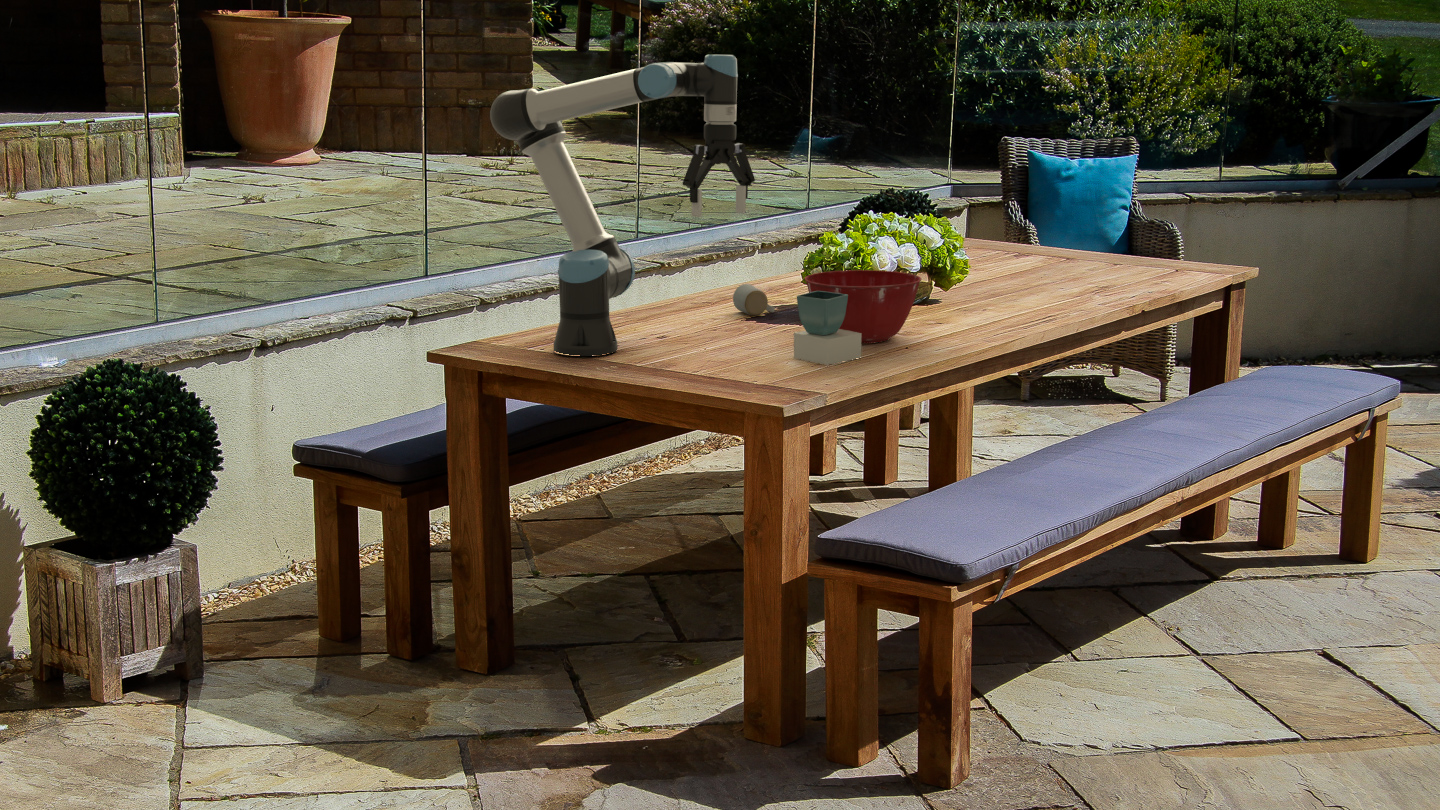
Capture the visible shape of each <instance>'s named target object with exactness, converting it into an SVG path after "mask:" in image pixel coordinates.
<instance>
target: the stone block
mask: <svg viewBox="0 0 1440 810" xmlns="http://www.w3.org/2000/svg"><path fill="white" fill-rule="evenodd" d="M861 334H862V333H858V332H853V331H848V330H842V329H838V331H837V332H835V333H831V334H828V335H825V336H823V335H818V334H810V333H807V331H806V330H801V331H796V332H793V359H796V358H797V359H796V360H800V359H801V360H802V361H805V362H809V361H810V363H814V362H815V364H818V363H820V364H819V365H823V364H825V365H824V366H830V365H829V364H832V365H835V364H834V363H837V364H839V363H838V362H842V361H847V360H852V359H856V358H860V357H861V358H862V344H861ZM852 361H853V360H852ZM847 362H848V361H847ZM842 363H843V362H842Z"/></svg>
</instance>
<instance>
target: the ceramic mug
mask: <svg viewBox="0 0 1440 810" xmlns="http://www.w3.org/2000/svg"><path fill="white" fill-rule="evenodd" d="M732 302H733V305H734V307H735V309H737V311H740V312H742V313H744V314H747V315H749V316H759V315H761V314H763V313H764V312H765V311H768V312H770V313H774V312H775V310H776V307H775V306H772V305H770V304H769V300H768V296H767V294H766V293H765V292H764V291H763V290H761V289H760V288H757V287H756V286H755V285H752V284H751V283H750V284H749V283H745V284H741V285H739V286H738V287H737V288H735V291H734V293H733V296H732Z"/></svg>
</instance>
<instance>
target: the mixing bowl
mask: <svg viewBox="0 0 1440 810" xmlns="http://www.w3.org/2000/svg"><path fill="white" fill-rule="evenodd" d="M804 281H805V282H806V285H807V286H806V287H807V291H808V293H810V292H814V291H825V292H832V293H840V294H847V295H848V300H847V307H846V313H845V317H844V320H843V323H842V324H841V326H840V328H839V329H842V330H848V331H853V332H858V333H862V334H861V343H864V344H875V343H874V342H879V343H882V342H881V341H884V342H887V341H889V340H890V339H892V338H893V337H894V336H896V335H897V334H898V333H899V332H900V331H901V329H902V328H903V326H904V324H905V323H906V320H907V319H908V317H909V316H910V315H909V314H910V312H911V310H912V307H913V305H914V303H915V300H916V296H917V293H918V290H919V287H920V282H921V281H922V277H921V276H918V275H917V274H912V273H908V272H902V271H901V272H899V271H891V270H876V269H875V270H873V269H872V270H871V269H849V270H848V269H847V270H846V269H845V270H832V271H831V270H830V271H821V272H816V273H812V274H809V275H807V276H805V277H804ZM888 339H889V340H888ZM886 340H887V341H886Z"/></svg>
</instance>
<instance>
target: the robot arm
mask: <svg viewBox="0 0 1440 810" xmlns="http://www.w3.org/2000/svg"><path fill="white" fill-rule="evenodd" d="M738 77H739V74H738V59H737V58H736V56H735V55H734V54H706V55H705V56H704V60H703V62H698V63H697V62H696V63H695V62H674V61H666V62H653V63H649V64H648V65H645V66H642V67H638V68H634V69H630V70H625V71H620V72H617V73H612V74H608V75H604V76H600V77H599V76H598V77H595V78H591V79H586V80H581V81H577V82H574V83H569V84H565V85H560V86H556V87H553V88H548V89H545V90H543V89H539V88H526V89H517V90H516V89H515V90H513V89H512V90H508V91H505V92H502V93H501V94H499V95H498V96H497V97H496V98H495V99H494V100H493V102H492V104H491V107H490V111H489V119H490V122H491V123H490V124H491V125H492V127H493V129H494V130H495V132H496V133H497V134H498V135H500V136H501V137H503V138H504V139H507V140H510V141H516V142H517V145H518V147H519V148H520V150H521V154H523V155H526V156H529V157H530V158H531V159H532V162H533V164H534V166H535V168H536V170H537V172H538V175H539V177H540V179H541V181H542V183H543V185H544V187H545V189H546V191H547V193H548V195H549V197H550V200H551V201H552V205H553V206H554V208H555V210H556V213H557V215H558V217H559V219H560V221H561V223H562V225H563V228H564V230H565V232H566V234H567V236H568V238H569V240H570V242H571V245H572V247H573V248H572V251H569V252H567V253H565V254H563V255H562V256H561V257H560V258H559V260H558V270H557V275H558V287H559V288H558V291H559V292H558V293H559V296H558V297H559V323H558V327H557V329H556V330H557V331H556V333H555V337H554V341H553V352H554V351H556V352H559V353H563V354H569V355H580V356H592V355H602V354H607V353H612V352H615V351H616V350H617V349H618V340H617V337H616V334H615V331H614V328H613V325H612V322H611V319H610V299H611V300H612V299H613V298H614V299H615V298H617V297H619V296H621V295H622V294H624V293H625V292H626V291H627V290H628V289H629V288H630V287H631V286H632V284H633V282H634V280H635V275H636V268H635V262H634V260H633V258H632V256H631V255H630V254H629V253H628V252H627V251H626V250H624V249H622V248H621V247H620V246H619V244H618V241H617V239H616V238H615V235H612V234H610V233H608V232H607V231H605V228H604V226H603V224H602V222H601V220H600V217H599V215H598V214H597V211H596V210H595V207H594V205H593V202H592V201H591V198H590V196H589V194H588V192H587V189H586V188H585V186H584V184H583V181H582V180H581V176H580V175H579V173H578V171H577V168H576V166H575V164H574V163H573V160H572V158H571V156H570V153H569V151H568V149H567V148H566V145H565V142H564V140H565V139H566V138H565V137H566V135H567V133H566V130H565V127H564V126H563V121H567V120H571V119H576V118H579V117H584V116H588V115H591V114H592V115H593V114H596V113H602V112H605V111H609V110H613V109H618V108H622V107H627V106H631V105H635V104H639V103H645V102H649V101H654V100H658V99H664V98H671V97H672V98H673V97H704V104H703V106H704V107H703V121H704V122H706V123H705V124H704V125H703V139H704V140H705V143H704V145H702V144H694V146H693V155H692V157H691V159H690V162H689V165H688V167H687V170H686V172H685V175H684V176H683V177H684V178H683V181H682V185H683V186H685V187H687V189H689V203H691V217H694V218H702V214H703V213H702V211H703V207H702V205H703V204H702V203H703V201H702V200H703V199H702V198H703V194H702V193H703V189H702V188H700V186H701V185H702V184H703V182H704V180H705V179H706V178H707V175H708V174H709V172H710V171H711V169H712V168H713V167H714V166H716V165H721V164H724V165H727V167H728V169H729V170H730V172H731V173H732V175H733V177H734V178H735V179H736V182H737V183H738V184H737V185H735V213H737V214H742V215H745V214H746V207H747V206H746V205H747V204H746V203H747V202H746V201H747V199H748V196H749V195H748V190H749V189H748V188H749V186H751V185H752V183H755V181H756V178H755V175H754V172H753V170H752V167H751V164H750V161H749V158H748V155H747V153H746V144H745V143H740V142H736V143H735V141H736V139H737V125H736V124H734V123H735V122H737V107H738V106H737V105H738V104H737V103H738V102H737V99H738V98H737V97H738V95H737V94H738V92H737V91H738ZM734 154H735V155H734ZM617 351H618V350H617ZM615 353H616V352H615Z"/></svg>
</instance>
